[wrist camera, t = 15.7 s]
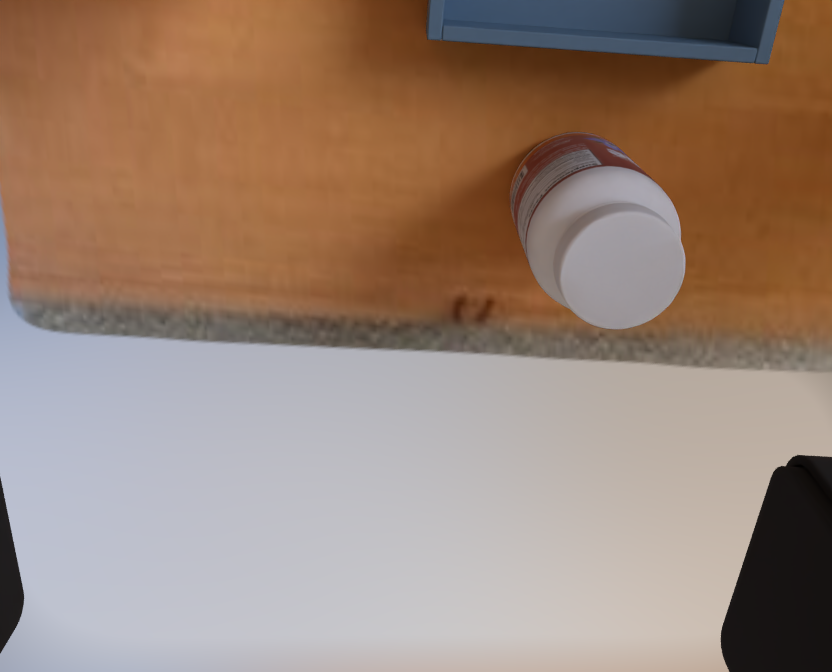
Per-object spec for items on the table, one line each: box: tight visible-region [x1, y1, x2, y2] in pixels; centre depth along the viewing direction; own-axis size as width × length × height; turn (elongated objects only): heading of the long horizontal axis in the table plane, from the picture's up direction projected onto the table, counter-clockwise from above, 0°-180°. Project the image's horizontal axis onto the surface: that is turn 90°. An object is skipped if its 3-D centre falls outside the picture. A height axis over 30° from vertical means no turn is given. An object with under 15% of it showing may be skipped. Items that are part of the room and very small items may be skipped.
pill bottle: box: [510, 132, 685, 329], centre depth 34 cm, size 6×6×11 cm
